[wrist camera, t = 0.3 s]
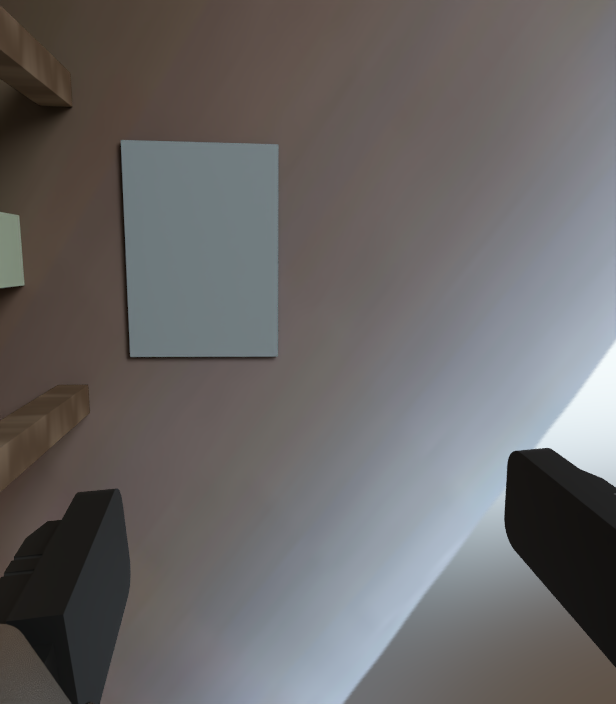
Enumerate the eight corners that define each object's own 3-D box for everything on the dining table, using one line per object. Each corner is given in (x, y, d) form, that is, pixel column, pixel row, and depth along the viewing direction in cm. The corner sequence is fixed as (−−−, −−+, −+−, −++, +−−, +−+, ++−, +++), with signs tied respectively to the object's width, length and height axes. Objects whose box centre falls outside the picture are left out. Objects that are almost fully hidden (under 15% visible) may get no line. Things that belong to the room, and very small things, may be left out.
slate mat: (122, 141, 35) (120, 139, 35) (278, 145, 36) (278, 144, 36) (131, 355, 38) (130, 357, 37) (277, 355, 38) (277, 356, 38)
